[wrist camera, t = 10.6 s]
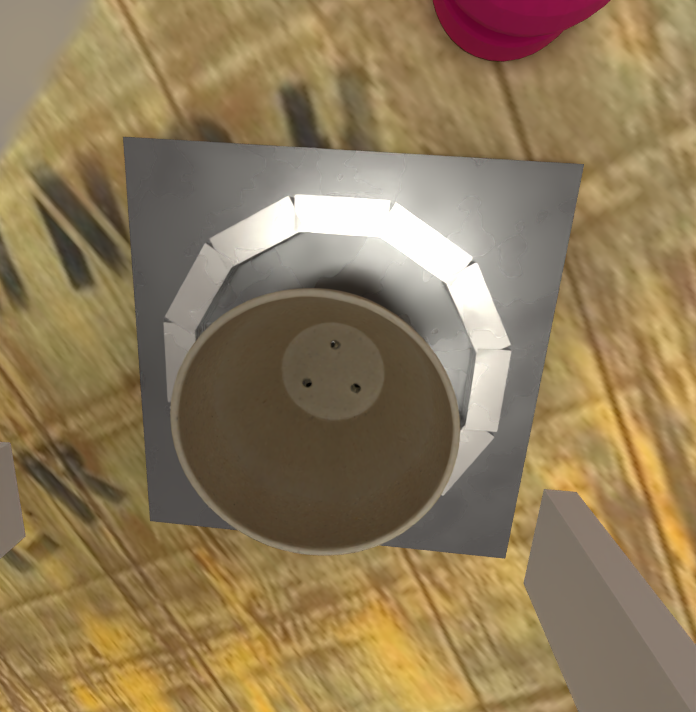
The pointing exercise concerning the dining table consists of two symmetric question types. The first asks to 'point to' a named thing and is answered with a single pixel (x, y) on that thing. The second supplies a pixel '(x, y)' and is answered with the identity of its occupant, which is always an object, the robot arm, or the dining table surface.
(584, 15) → the pepper mill
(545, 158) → the dining table surface
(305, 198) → the ring plate
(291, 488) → the flower pot
